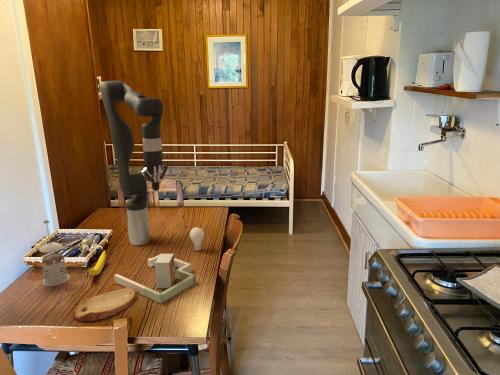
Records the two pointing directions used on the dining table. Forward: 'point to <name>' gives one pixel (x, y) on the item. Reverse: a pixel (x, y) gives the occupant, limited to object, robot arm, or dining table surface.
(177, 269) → the channel
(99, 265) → the banana
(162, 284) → the small box
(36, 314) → the dining table surface
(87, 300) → the bread slice
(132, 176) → the robot arm
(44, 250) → the french press
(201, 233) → the lightbulb
